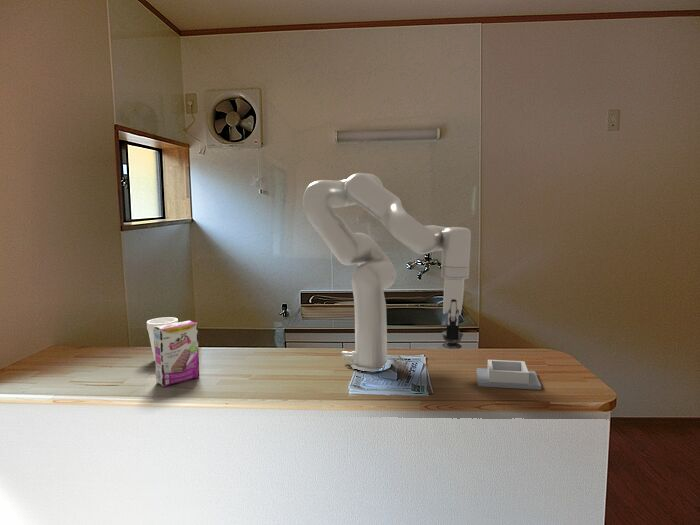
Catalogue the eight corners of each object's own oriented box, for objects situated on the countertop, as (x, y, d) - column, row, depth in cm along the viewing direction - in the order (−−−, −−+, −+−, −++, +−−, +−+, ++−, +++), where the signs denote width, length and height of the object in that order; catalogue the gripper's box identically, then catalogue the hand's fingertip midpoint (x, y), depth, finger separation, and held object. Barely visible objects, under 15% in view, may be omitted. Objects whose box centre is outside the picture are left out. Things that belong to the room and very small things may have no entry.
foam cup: (142, 362, 163) (140, 322, 161) (163, 354, 171) (161, 316, 170) (166, 365, 159) (163, 324, 158) (186, 357, 168) (184, 318, 166)
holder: (477, 386, 137) (478, 371, 136) (476, 371, 149) (476, 358, 148) (541, 389, 133) (541, 374, 133) (534, 374, 145) (535, 360, 145)
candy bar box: (163, 388, 140) (159, 329, 138) (155, 383, 144) (152, 326, 142) (201, 377, 148) (198, 322, 146) (192, 373, 151) (189, 319, 149)
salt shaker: (462, 349, 140) (464, 306, 138) (441, 348, 141) (442, 305, 139) (462, 343, 146) (464, 302, 144) (441, 342, 147) (443, 301, 145)
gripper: (442, 267, 150) (440, 327, 152) (440, 276, 133) (437, 343, 135) (468, 268, 148) (465, 329, 151) (469, 277, 131) (466, 346, 134)
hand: (452, 335), depth 143 cm, fingers closed on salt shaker, 5 cm apart
